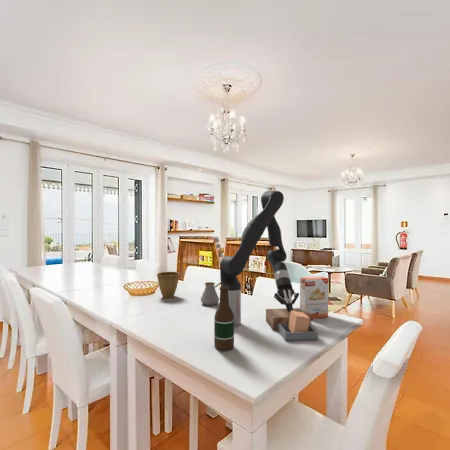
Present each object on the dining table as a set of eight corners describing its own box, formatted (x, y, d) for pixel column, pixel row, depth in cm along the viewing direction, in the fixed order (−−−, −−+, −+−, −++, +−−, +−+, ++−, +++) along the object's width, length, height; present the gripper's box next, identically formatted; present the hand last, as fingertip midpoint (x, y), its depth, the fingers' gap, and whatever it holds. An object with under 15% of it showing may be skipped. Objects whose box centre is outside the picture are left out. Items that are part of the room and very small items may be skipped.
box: (285, 341, 119) (285, 333, 119) (277, 331, 131) (277, 323, 131) (317, 340, 120) (317, 331, 120) (307, 330, 132) (307, 322, 132)
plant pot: (155, 295, 198) (155, 272, 199) (175, 293, 205) (175, 271, 205) (159, 300, 185) (159, 275, 185) (181, 298, 191) (181, 274, 191)
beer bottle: (233, 343, 117) (233, 284, 117) (234, 351, 109) (234, 288, 109) (214, 343, 117) (214, 284, 117) (214, 351, 109) (214, 288, 109)
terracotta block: (287, 328, 130) (293, 334, 122) (290, 310, 130) (296, 316, 122) (300, 329, 131) (306, 336, 123) (303, 312, 131) (310, 318, 123)
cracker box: (305, 319, 147) (305, 279, 147) (299, 316, 152) (299, 277, 153) (329, 317, 150) (328, 277, 151) (322, 314, 156) (322, 276, 156)
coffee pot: (206, 307, 169) (206, 282, 169) (197, 303, 178) (197, 279, 178) (235, 302, 181) (235, 278, 181) (225, 298, 191) (225, 276, 191)
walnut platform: (273, 330, 131) (273, 317, 131) (265, 320, 145) (265, 309, 145) (310, 329, 133) (310, 316, 133) (300, 319, 147) (300, 308, 147)
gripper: (271, 276, 143) (278, 308, 131) (297, 276, 145) (306, 307, 132) (268, 285, 149) (275, 316, 136) (293, 284, 150) (302, 315, 137)
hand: (290, 311), depth 134 cm, fingers closed
